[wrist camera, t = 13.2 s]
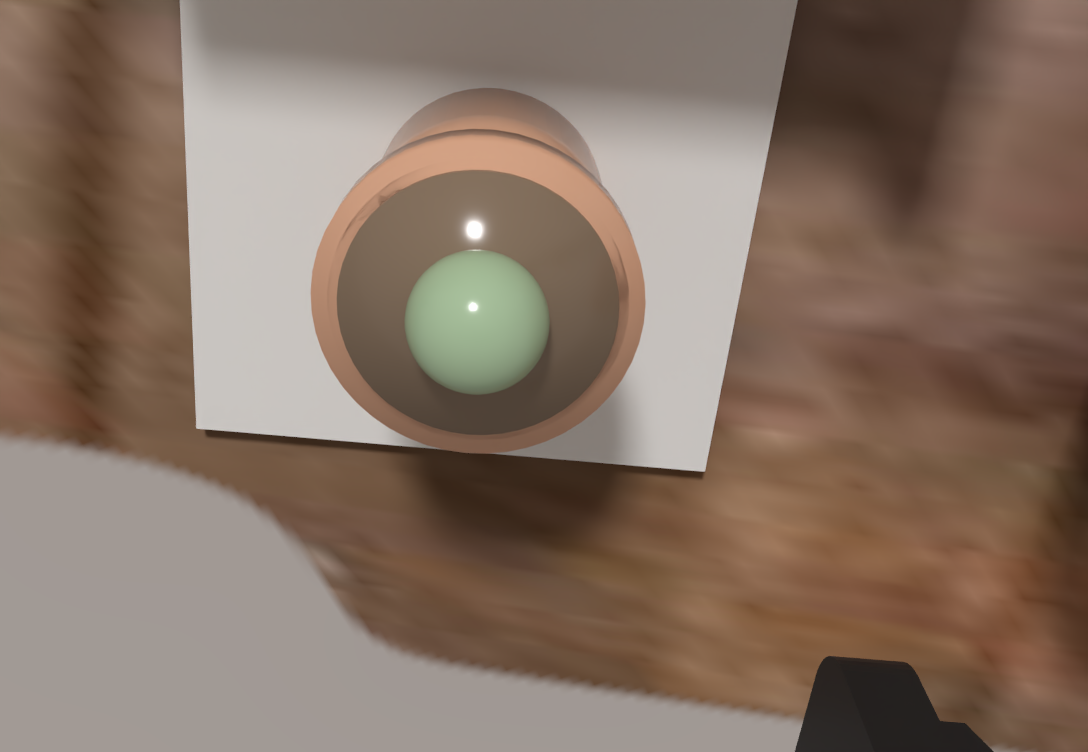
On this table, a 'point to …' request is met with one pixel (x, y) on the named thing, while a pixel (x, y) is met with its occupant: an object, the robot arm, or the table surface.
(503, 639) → the table surface
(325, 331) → the seedling pot
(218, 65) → the grey mat
